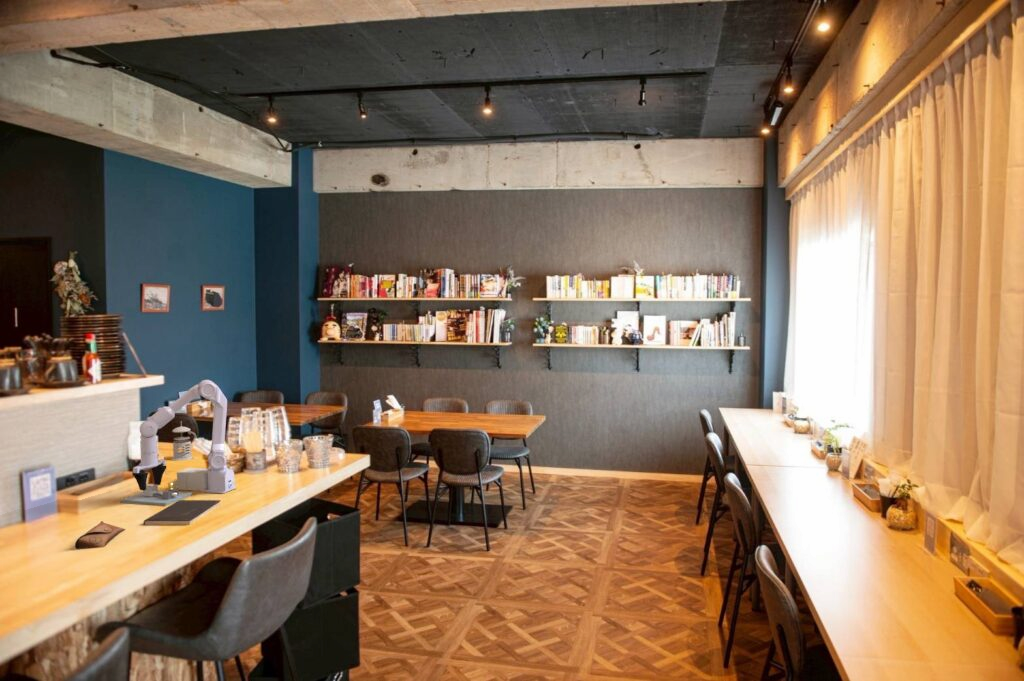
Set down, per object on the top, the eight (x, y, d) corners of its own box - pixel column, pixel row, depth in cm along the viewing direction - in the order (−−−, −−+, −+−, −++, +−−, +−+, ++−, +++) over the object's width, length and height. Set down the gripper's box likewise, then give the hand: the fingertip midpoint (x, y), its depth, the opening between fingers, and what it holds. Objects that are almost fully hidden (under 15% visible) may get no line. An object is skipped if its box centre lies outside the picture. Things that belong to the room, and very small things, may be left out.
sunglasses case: (105, 547, 213) (92, 529, 212) (84, 560, 212) (71, 542, 211) (126, 528, 231) (114, 512, 230) (107, 540, 230) (95, 524, 229)
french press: (167, 458, 333) (165, 406, 332) (191, 454, 342) (189, 404, 341) (176, 461, 327) (174, 408, 326) (201, 457, 336) (199, 405, 334)
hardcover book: (220, 506, 257) (220, 500, 257) (190, 526, 234) (190, 519, 234) (178, 506, 258) (178, 500, 257) (143, 526, 235) (143, 519, 235)
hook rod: (179, 496, 265) (179, 485, 264) (173, 498, 262) (173, 487, 261) (149, 494, 268) (148, 483, 268) (143, 496, 265) (142, 485, 265)
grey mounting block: (178, 495, 266) (178, 488, 266) (168, 499, 261) (168, 491, 261) (173, 495, 267) (173, 487, 267) (162, 499, 261) (162, 491, 261)
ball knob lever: (167, 490, 263) (167, 483, 262) (174, 485, 269) (173, 479, 269) (172, 490, 263) (171, 483, 263) (178, 485, 269) (178, 479, 269)
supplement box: (189, 484, 285) (216, 486, 283) (176, 489, 278) (204, 491, 275) (188, 467, 285) (216, 468, 282) (176, 471, 278) (204, 473, 275)
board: (191, 495, 270) (191, 492, 270) (165, 505, 256) (165, 503, 256) (147, 492, 274) (147, 489, 274) (120, 502, 261) (119, 499, 261)
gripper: (154, 447, 273) (155, 481, 274) (125, 455, 259) (126, 491, 259) (169, 448, 271) (170, 483, 272) (141, 456, 257) (142, 492, 258)
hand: (150, 487), depth 266 cm, fingers open, 7 cm apart
